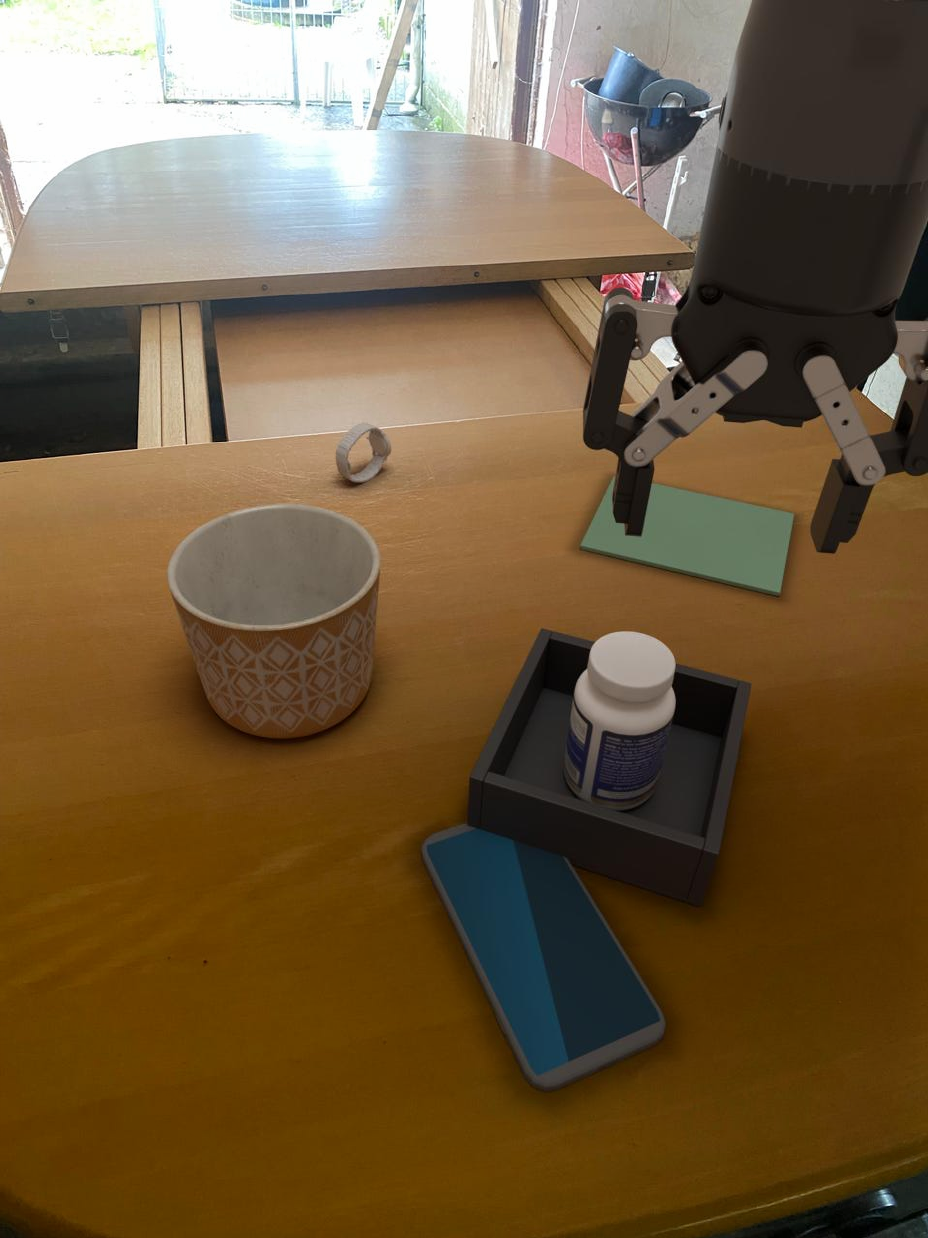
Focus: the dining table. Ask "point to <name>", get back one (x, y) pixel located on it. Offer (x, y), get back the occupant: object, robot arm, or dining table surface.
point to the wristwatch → (378, 445)
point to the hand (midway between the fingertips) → (726, 535)
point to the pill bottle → (620, 721)
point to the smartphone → (542, 956)
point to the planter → (279, 615)
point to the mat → (700, 538)
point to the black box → (591, 834)
